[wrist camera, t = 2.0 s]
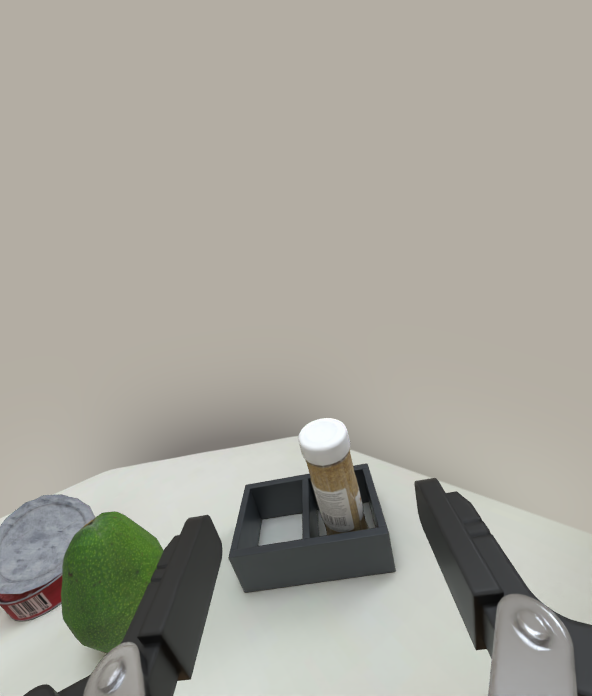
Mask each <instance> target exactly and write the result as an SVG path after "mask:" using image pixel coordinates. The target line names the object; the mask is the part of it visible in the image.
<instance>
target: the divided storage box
mask: <svg viewBox="0 0 592 696" xmlns="http://www.w3.org/2000/svg"><path fill="white" fill-rule="evenodd" d="M353 468H354V473H355V476H356V479H357V484H358V487H359V492H360V496H361V500H362V503H364V502H369V503H370V507H371V510H372V514H373V518H374V522H375V525H376V528H372V529H365V530H359V531H352V532H346V533H339V534H333V535H327V536H320V537H319V530H318V514H317V510H319V506H318V503H317V499H316V496H315V492H314V489H313V485H312V482H311V476H310V474H305V475H299V476H293V477H288V478H282V479H277V480H271V481H265V482H260V483H254V484H248V485H245V490H244V494H243V498H242V502H241V506H240V511H239V515H238V519H237V524H236V528H235V532H234V536H233V541H232V545H231V549H230V553H229V560H230V562H231V564H232V567H233V569H234V571H235V573H236V575H237V577H238V579H239V582H240V584H241V586H242V588H243V590H244V592H252V591H259V590H267V589H274V588H281V587H288V586H295V585H303V584H310V583H317V582H324V581H331V580H338V579H346V578H353V577H360V576H367V575H374V574H381V573H389V572H395V571H396V570H395V564H394V559H393V553H392V548H391V542H390V537H389V532H388V529H387V526H386V522H385V519H384V516H383V513H382V509H381V506H380V503H379V500H378V496H377V493H376V490H375V487H374V483H373V480H372V477H371V474H370V470H369V467H368V464H361V465H355V466H353ZM297 513H302V521H303V539H301V540H294V541H288V542H281V543H275V544H269V545H262V546H258V541H259V535H260V528H261V521H262V519H266V518H272V517H278V516H285V515H291V514H297Z"/></svg>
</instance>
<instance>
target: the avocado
mask: <svg viewBox="0 0 592 696" xmlns="http://www.w3.org/2000/svg"><path fill="white" fill-rule="evenodd" d="M162 553H163V549H162V547H161V545H160V544H159V542H158V540H157V538H155V537H154V536H153V535H151V534H150V533H149V532H147V531H146V530H145V529H143V528H142V527H141V526H139V525H138V524H136V523H135V522H134V521H132V520H131V519H129V518H128V517H126V516H125V515H123V514H121V513H119V512H106V513H101V514H100V515H98V516H97V517H96V518H94V519H93V520H91V521H90V522H89V523H87V524H86V525H85V526H83V527H82V528H81V529H80V530H79V531H78V532H77V533H76V534H75V535H74V537H73V538H72V540H71V542H70V544H69V546H68V548H67V550H66V552H65V555H64V559H63V566H62V589H61V602H62V614H63V619H64V621H65V623H66V624H67V626H68V627H69V629H70V630H71V631H72V633H73V634H74V636H75V637H76V638H77V639H78V640H79V641H80V642H81V643H82V644H83V645H84V646H87V647H90V648H93V649H96V650H99V651H102V652H106V653H108V652H110V651H111V650H112V649H113V648H115V647H116V646H118V645H120V644H121V642H122V640H123V638H124V636H125V634H126V632H127V630H128V628H129V626H130V623H131V621H132V619H133V617H134V615H135V612H136V610H137V608H138V606H139V604H140V602H141V599H142V597H143V595H144V593H145V591H146V588H147V586H148V584H149V583H150V582H151V577H152V575H153V573H154V571H155V569H157V564H158V562H159V560H160V558H161V555H162Z"/></svg>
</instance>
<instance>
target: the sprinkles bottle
mask: <svg viewBox="0 0 592 696" xmlns="http://www.w3.org/2000/svg"><path fill="white" fill-rule="evenodd" d="M299 444H300V448H301V452H302V455H303V457H304V458H305V460H306V462H307V466H308V469H309V473H310V476H311V482H312V485H313V489H314V492H315V496H316V499H317V503H318V506H319V510H320V513H321V516H322V519H323V521H324V524H325V527H326V531H327V535H333V534H339V533H346V532H352V531H359V530H365V529H369V528H368V525H367V523H366V521H365V516H364V510H363V504H362V500H361V496H360V492H359V487H358V484H357V479H356V476H355V473H354V468H353V463H352V459H351V455H350V441H349V436H348V432H347V429H346V427H345V425H344V424H343V423H342V422H340V421H338V420H336V419H331V418H323V419H318V420H315V421H312V422H311V423H309V424H307V425H306V426H305V427H304V428H303V429H302V430H301V432H300V434H299Z"/></svg>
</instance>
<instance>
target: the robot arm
mask: <svg viewBox="0 0 592 696" xmlns="http://www.w3.org/2000/svg"><path fill="white" fill-rule="evenodd" d="M415 492H416V500H417V508H418V514H419V518H420V521H421V524H422V527H423V530H424V532H425V534H426V537H427V539H428V541H429V544H430V546H431V548H432V550H433V553H434V555H435V557H436V560H437V562H438V564H439V566H440V569H441V571H442V573H443V576H444V578H445V580H446V583H447V585H448V587H449V589H450V592H451V594H452V596H453V599H454V601H455V603H456V605H457V608H458V610H459V612H460V615H461V617H462V619H463V621H464V624H465V626H466V628H467V631H468V633H469V635H470V638H471V640H472V642H473V644H474V647H475V649H476V650H482V649H487V650H488V652H489V654H490V656H491V659H492V662H491V672H490V683H489V693H488V696H592V625H589V624H585V623H581V622H577V621H574V620H571V619H568V618H566V617H563V616H561V615H560V614H558V613H556V612H554V611H553V610H551V609H550V608H548V607H547V606H546V605H544V604H543V603H542V602H541V601H540V600H538V599H537V598H536V597H535V596H534V595H533V593H532V592H531V591H530V590H529V589H528V587H527V586H526V584H525V583H524V581H523V580H522V578H521V577H520V575H519V574H518V572H517V571H516V569H515V568H514V566H513V565H512V563H511V562H510V560H509V559H508V557H507V556H506V555H505V553H504V552H503V550H502V549H501V547H500V546H499V544H498V543H497V541H496V540H495V538H494V537H493V535H491V533H490V531H489V529H488V528H487V526H486V525H485V523H484V522H483V521H482V519H481V517H480V516H479V514H478V513H477V511H476V510H475V508H474V507H473V505H472V504H471V503H470V502H469V501H468V500H466V499H465V498H464V497H463V496H462V495H460V494H459V493H458V492H451V493H445V491H444V490H443V488H442V486H441V485H440V483H439V481H438V480H437V479H436V478H431V479H425V480H419V481H415ZM221 559H222V543H221V540H220V538H219V535H218V533H217V531H216V529H215V527H214V524H213V522H212V520H211V518H210V516H209V515H204V516H198V517H192V518H188V519H187V521H186V522H185V524H184V527H183V529H182V531H181V534H180V535H177V536H175V537H174V538H173V539H172V540H171V542H170V543H169V544H168V546H167V547H166V548H165V549H164V551H163V553H162V555H161V558H160V560H159V562H158V564H157V569H155V571H154V573H153V575H152V577H151V582H150V583H149V584H148V586H147V588H146V591H145V593H144V595H143V597H142V599H141V602H140V604H139V606H138V608H137V610H136V612H135V615H134V617H133V619H132V621H131V623H130V626H129V628H128V630H127V632H126V634H125V636H124V638H123V640H122V642H121V644H120V645H118V646H116V647H115V648H113V649H112V650H111V651H110V652H108V653H107V654H106V655H105V656H104V657H103V658H102V660H101V661H100V662H99V663H98V665H97V666H96V668H95V669H94V671H93V672H92V674H91V675H89V676H88V677H86V678H84V679H82V680H80V681H78V682H76V683H75V684H73V685H71V686H69V687H67V688H65V689H63V690H62V691H60V692H58V693H57V692H56V691H55V690H54V689H53V688H52V687H51V686H50V685H47V684H46V685H40V686H37V687H35V688H33V689H32V690H30V691H29V692H28V693H26V694H25V695H24V696H173V694H174V691H175V687H176V684H177V681H180V680H189V679H191V677H192V673H193V669H194V665H195V661H196V657H197V653H198V649H199V645H200V641H201V638H202V634H203V630H204V626H205V622H206V618H207V614H208V610H209V606H210V602H211V599H212V595H213V591H214V587H215V583H216V579H217V575H218V571H219V567H220V563H221Z"/></svg>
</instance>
